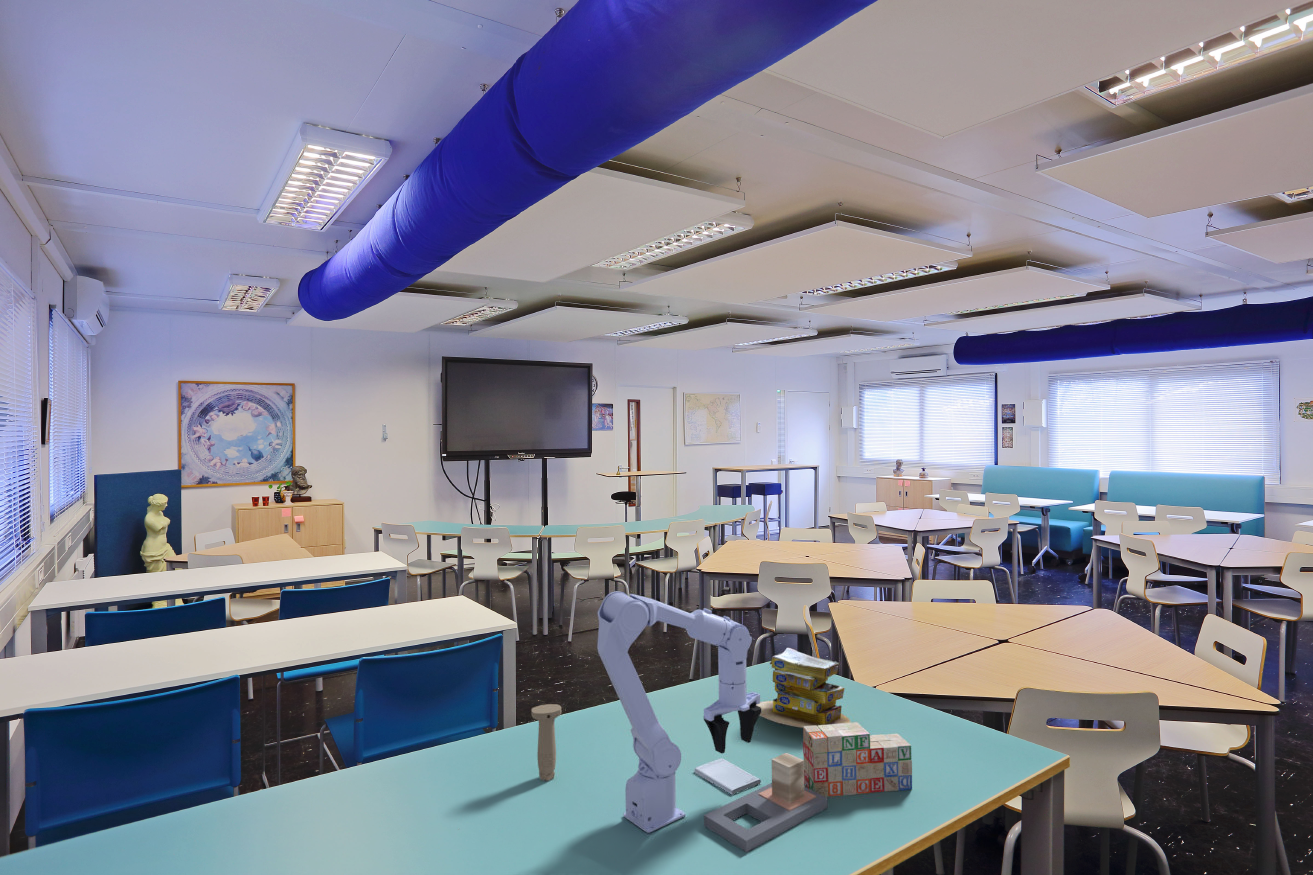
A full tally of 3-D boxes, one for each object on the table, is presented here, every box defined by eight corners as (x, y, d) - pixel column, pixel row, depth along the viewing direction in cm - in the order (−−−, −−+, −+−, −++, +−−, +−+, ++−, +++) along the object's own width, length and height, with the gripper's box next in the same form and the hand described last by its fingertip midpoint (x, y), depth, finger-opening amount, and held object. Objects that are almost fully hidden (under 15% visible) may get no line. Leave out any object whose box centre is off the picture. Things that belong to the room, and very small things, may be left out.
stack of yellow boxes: (789, 696, 195) (788, 637, 195) (868, 721, 177) (867, 656, 177) (733, 721, 178) (732, 656, 178) (814, 751, 160) (813, 679, 160)
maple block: (789, 803, 133) (789, 767, 133) (771, 794, 136) (771, 759, 136) (804, 795, 135) (803, 760, 136) (786, 786, 139) (786, 752, 139)
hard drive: (761, 778, 145) (722, 756, 155) (732, 790, 140) (694, 766, 150) (761, 786, 145) (722, 764, 155) (732, 798, 140) (694, 774, 150)
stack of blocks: (898, 775, 148) (897, 718, 148) (912, 790, 142) (912, 730, 142) (803, 782, 145) (802, 724, 145) (813, 798, 139) (812, 737, 139)
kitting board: (746, 852, 121) (746, 839, 121) (704, 825, 129) (703, 813, 129) (827, 807, 135) (827, 796, 135) (784, 786, 144) (784, 775, 144)
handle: (530, 775, 149) (529, 706, 150) (559, 770, 152) (558, 702, 152) (534, 785, 145) (533, 714, 145) (563, 780, 147) (563, 710, 147)
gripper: (720, 693, 133) (721, 763, 133) (770, 677, 142) (771, 742, 142) (696, 683, 139) (697, 751, 138) (746, 668, 148) (746, 731, 148)
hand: (733, 746), depth 141 cm, fingers open, 7 cm apart
